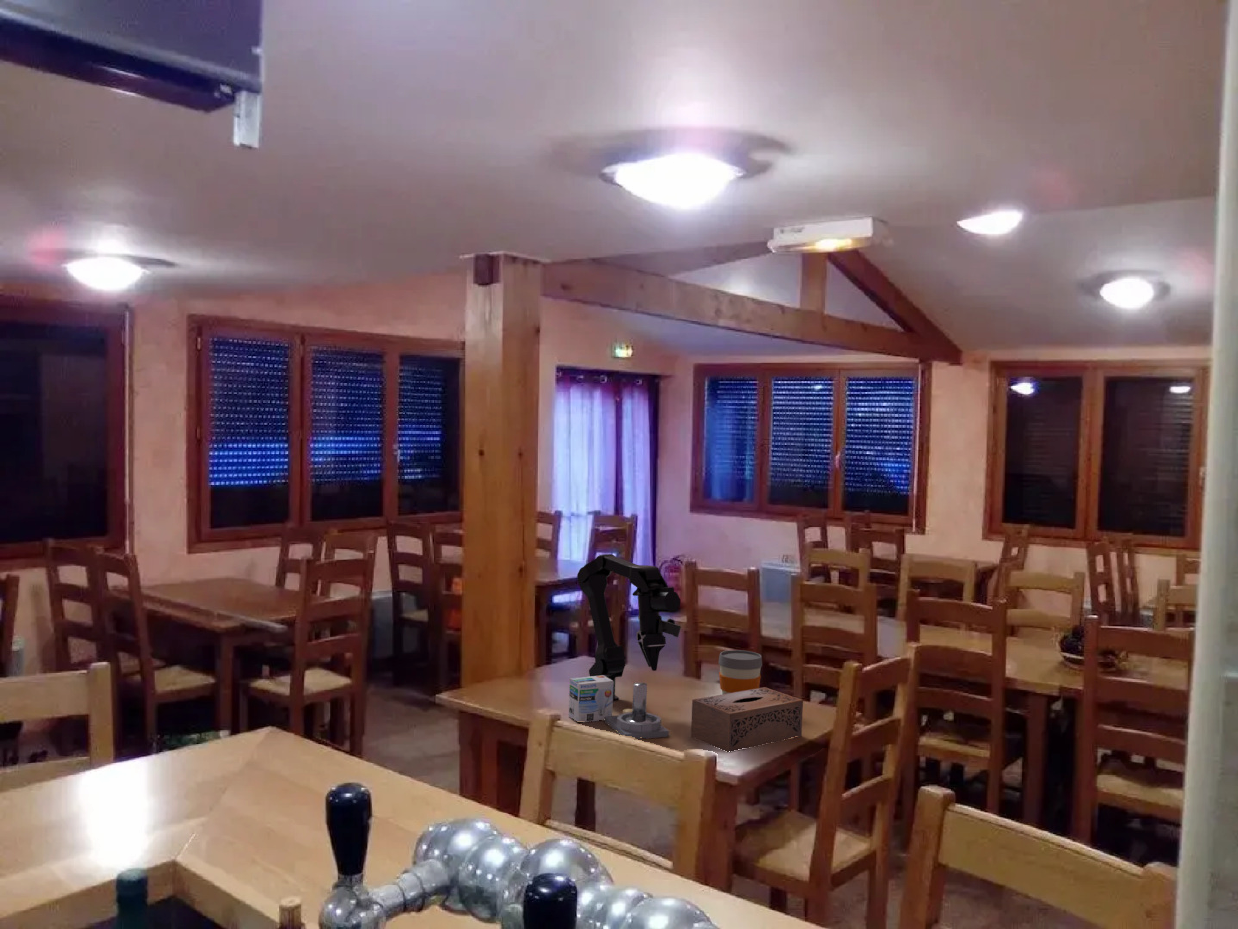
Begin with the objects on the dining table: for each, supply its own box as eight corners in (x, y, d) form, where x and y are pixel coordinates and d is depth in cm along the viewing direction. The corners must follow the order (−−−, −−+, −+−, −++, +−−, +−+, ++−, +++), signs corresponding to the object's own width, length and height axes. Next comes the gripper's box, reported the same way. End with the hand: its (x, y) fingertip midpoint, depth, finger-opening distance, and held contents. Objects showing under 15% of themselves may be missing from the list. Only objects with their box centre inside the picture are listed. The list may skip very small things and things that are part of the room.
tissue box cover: (763, 723, 277) (764, 687, 277) (801, 737, 265) (803, 700, 265) (690, 737, 262) (692, 699, 262) (728, 753, 250) (729, 714, 250)
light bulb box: (577, 723, 270) (579, 684, 270) (567, 717, 276) (568, 678, 276) (613, 719, 275) (614, 680, 275) (602, 712, 281) (603, 674, 280)
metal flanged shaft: (625, 721, 268) (626, 680, 268) (651, 722, 269) (652, 681, 268) (625, 729, 262) (627, 687, 261) (652, 730, 262) (654, 688, 261)
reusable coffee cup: (708, 705, 292) (710, 654, 291) (734, 697, 301) (735, 648, 300) (743, 715, 283) (745, 662, 282) (769, 706, 292) (771, 655, 292)
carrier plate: (604, 722, 272) (604, 709, 272) (645, 718, 276) (646, 706, 276) (625, 740, 257) (625, 726, 257) (668, 736, 261) (669, 723, 261)
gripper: (682, 612, 272) (686, 670, 271) (673, 608, 290) (676, 662, 289) (641, 615, 271) (645, 673, 270) (634, 610, 289) (638, 665, 288)
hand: (652, 668), depth 279 cm, fingers open, 9 cm apart
